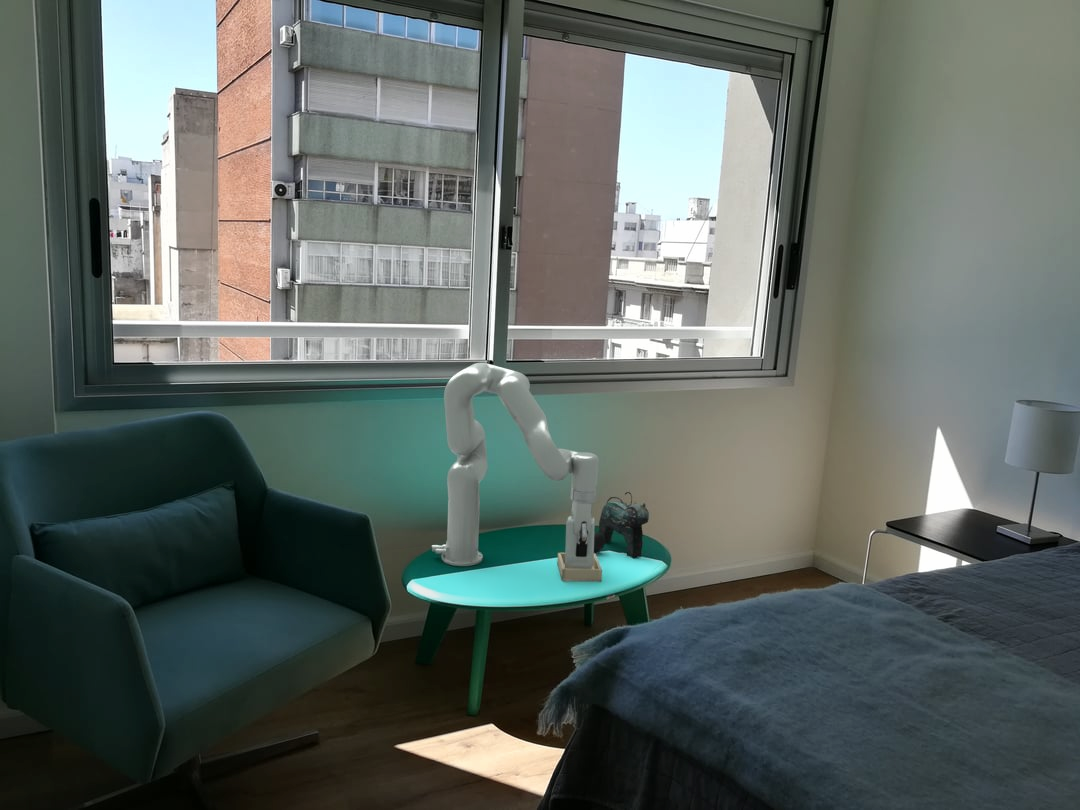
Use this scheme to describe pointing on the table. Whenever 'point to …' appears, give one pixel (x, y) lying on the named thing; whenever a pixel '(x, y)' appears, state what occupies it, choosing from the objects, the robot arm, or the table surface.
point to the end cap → (598, 542)
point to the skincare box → (570, 552)
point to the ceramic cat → (624, 523)
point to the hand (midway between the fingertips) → (579, 551)
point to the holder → (579, 571)
